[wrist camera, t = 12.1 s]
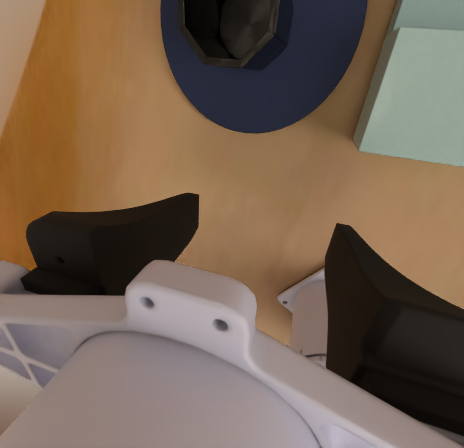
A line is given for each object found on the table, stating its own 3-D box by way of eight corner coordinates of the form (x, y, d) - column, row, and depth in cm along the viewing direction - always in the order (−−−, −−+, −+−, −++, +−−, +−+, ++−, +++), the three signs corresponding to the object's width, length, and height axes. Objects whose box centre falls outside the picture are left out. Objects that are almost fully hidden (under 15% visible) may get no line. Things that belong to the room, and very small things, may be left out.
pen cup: (299, -27, 16) (290, -76, 11) (283, 72, 18) (270, 71, 13) (218, -28, 17) (175, -73, 12) (214, 66, 19) (178, 62, 14)
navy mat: (419, 1, 15) (423, -2, 15) (259, 166, 23) (258, 168, 22) (246, -210, 13) (243, -221, 13) (134, 46, 21) (130, 45, 20)
